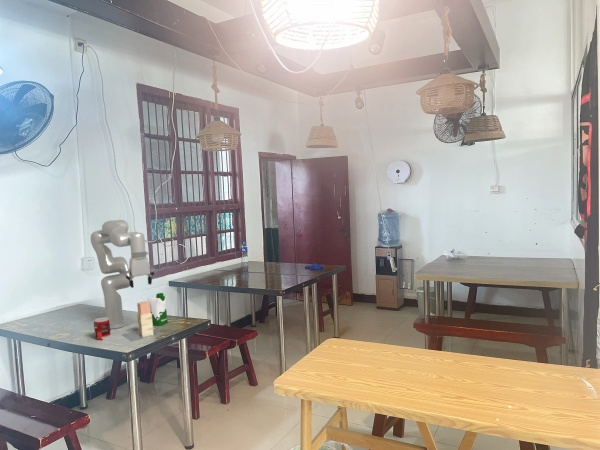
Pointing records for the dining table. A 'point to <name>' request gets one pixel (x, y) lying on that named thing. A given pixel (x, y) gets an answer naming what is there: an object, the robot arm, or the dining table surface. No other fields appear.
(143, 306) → the terracotta block
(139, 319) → the beech block mid
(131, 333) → the slate board
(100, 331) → the canned food
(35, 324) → the dining table surface
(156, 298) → the milk carton
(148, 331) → the beech block base
